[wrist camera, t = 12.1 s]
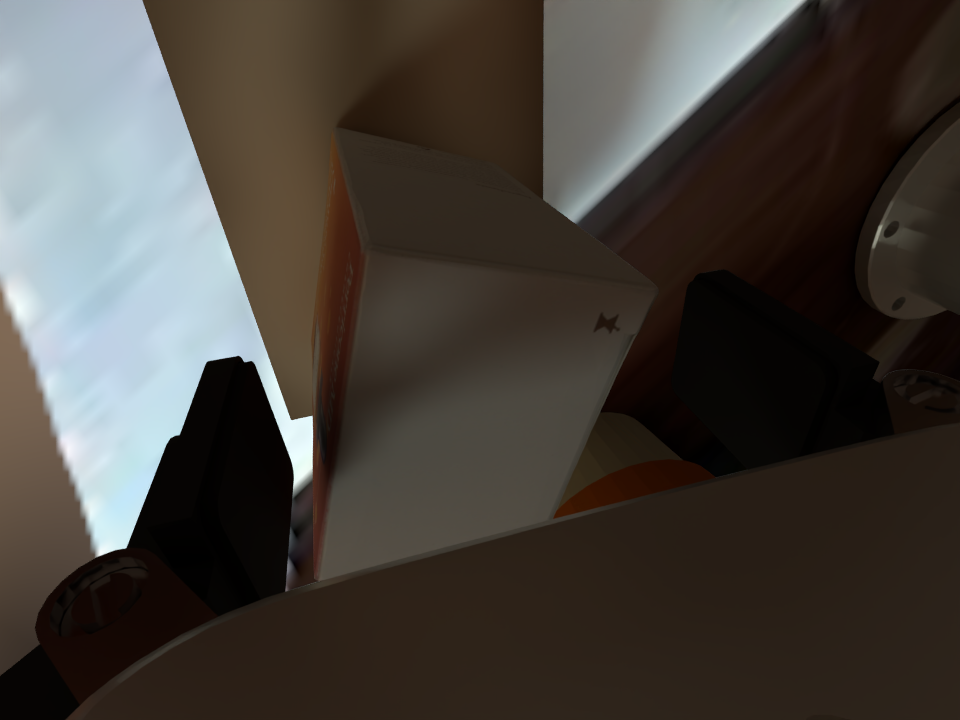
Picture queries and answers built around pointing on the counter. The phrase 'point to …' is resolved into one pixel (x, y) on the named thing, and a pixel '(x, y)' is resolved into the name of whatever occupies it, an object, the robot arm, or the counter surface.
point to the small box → (452, 352)
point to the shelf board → (338, 120)
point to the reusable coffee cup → (624, 466)
